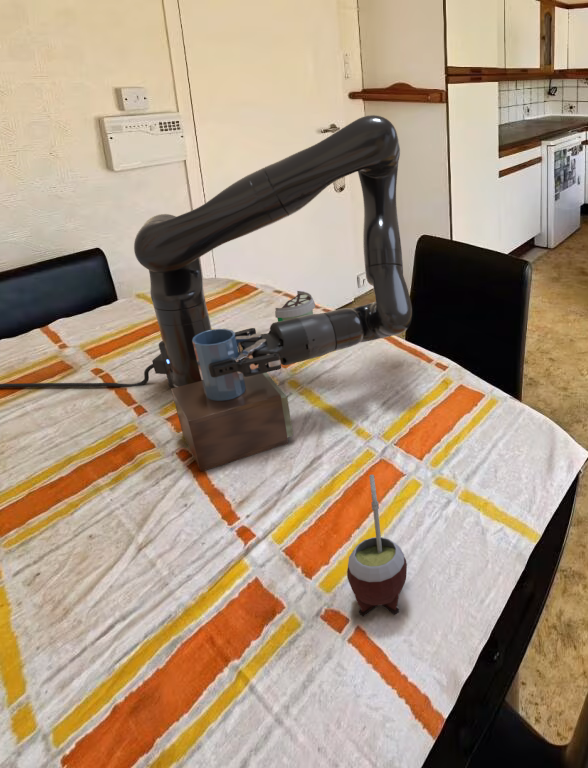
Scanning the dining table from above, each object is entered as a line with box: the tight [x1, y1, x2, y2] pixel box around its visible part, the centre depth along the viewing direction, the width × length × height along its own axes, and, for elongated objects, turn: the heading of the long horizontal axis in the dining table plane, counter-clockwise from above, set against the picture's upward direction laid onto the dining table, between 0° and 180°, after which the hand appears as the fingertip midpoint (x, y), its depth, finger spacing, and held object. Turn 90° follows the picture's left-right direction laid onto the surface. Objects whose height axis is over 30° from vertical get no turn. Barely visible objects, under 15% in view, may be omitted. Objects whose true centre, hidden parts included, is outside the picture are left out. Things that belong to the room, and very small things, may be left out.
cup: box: [192, 328, 246, 401], centre depth 101 cm, size 6×6×10 cm
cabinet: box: [170, 368, 289, 472], centre depth 106 cm, size 15×13×10 cm
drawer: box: [263, 372, 294, 438], centre depth 107 cm, size 15×11×8 cm
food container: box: [274, 290, 316, 322], centre depth 143 cm, size 12×6×10 cm, turn 168°
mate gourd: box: [346, 474, 408, 618], centre depth 74 cm, size 8×8×15 cm
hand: (204, 362), depth 100 cm, fingers closed on cup, 6 cm apart
